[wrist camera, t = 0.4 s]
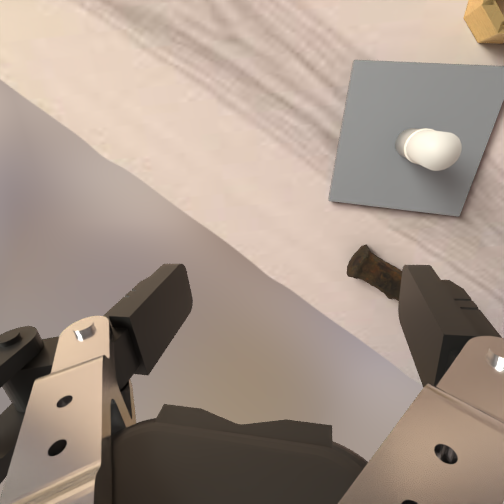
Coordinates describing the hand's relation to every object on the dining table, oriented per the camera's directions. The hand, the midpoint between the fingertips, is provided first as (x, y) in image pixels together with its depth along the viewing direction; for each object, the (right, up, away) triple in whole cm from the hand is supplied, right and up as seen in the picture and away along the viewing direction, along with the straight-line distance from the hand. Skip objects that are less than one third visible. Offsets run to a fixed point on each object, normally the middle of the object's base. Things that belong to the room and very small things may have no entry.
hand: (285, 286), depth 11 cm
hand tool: (+20, -3, +27) cm, 34 cm away
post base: (+15, +13, +21) cm, 29 cm away
